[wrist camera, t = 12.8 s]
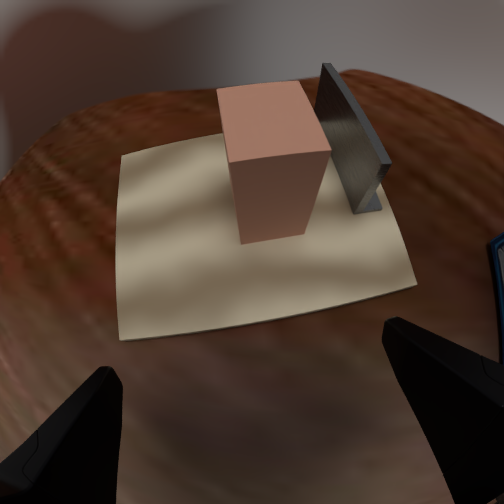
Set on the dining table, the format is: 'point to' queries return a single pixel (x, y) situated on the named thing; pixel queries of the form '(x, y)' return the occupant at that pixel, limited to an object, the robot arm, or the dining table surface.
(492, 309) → the dining table surface
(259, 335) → the dining table surface
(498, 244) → the book
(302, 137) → the salmon pink rectangular block
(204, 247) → the beige cloth placemat
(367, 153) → the bookend
